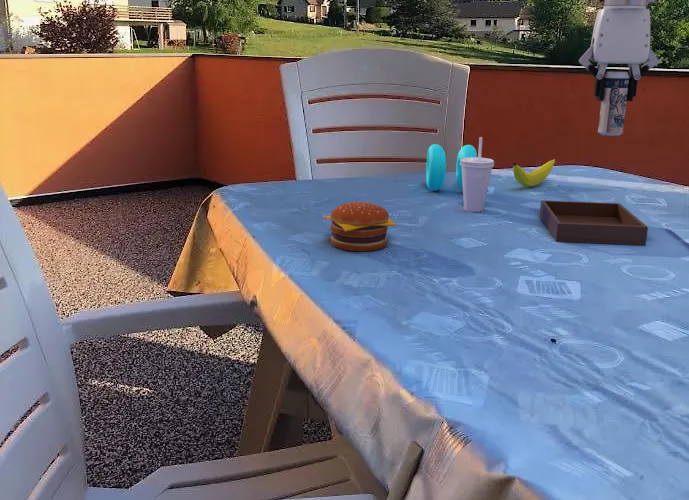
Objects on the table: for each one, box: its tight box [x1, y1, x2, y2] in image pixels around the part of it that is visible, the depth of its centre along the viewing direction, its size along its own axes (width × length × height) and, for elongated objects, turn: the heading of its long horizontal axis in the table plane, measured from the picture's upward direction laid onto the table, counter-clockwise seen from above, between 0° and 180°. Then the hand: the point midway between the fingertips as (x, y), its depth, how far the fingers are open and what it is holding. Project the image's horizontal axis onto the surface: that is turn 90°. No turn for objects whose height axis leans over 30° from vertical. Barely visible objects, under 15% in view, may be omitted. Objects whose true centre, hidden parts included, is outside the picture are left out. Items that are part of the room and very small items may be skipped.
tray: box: [539, 199, 649, 246], centre depth 123 cm, size 14×17×3 cm
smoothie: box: [460, 136, 495, 213], centre depth 135 cm, size 6×6×14 cm
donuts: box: [425, 143, 478, 192], centre depth 152 cm, size 10×10×10 cm
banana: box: [512, 158, 556, 188], centre depth 159 cm, size 3×19×6 cm, turn 137°
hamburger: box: [322, 201, 397, 252], centre depth 112 cm, size 9×10×7 cm
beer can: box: [597, 70, 630, 137], centre depth 138 cm, size 5×5×12 cm
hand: (614, 99), depth 138 cm, fingers closed on beer can, 4 cm apart
